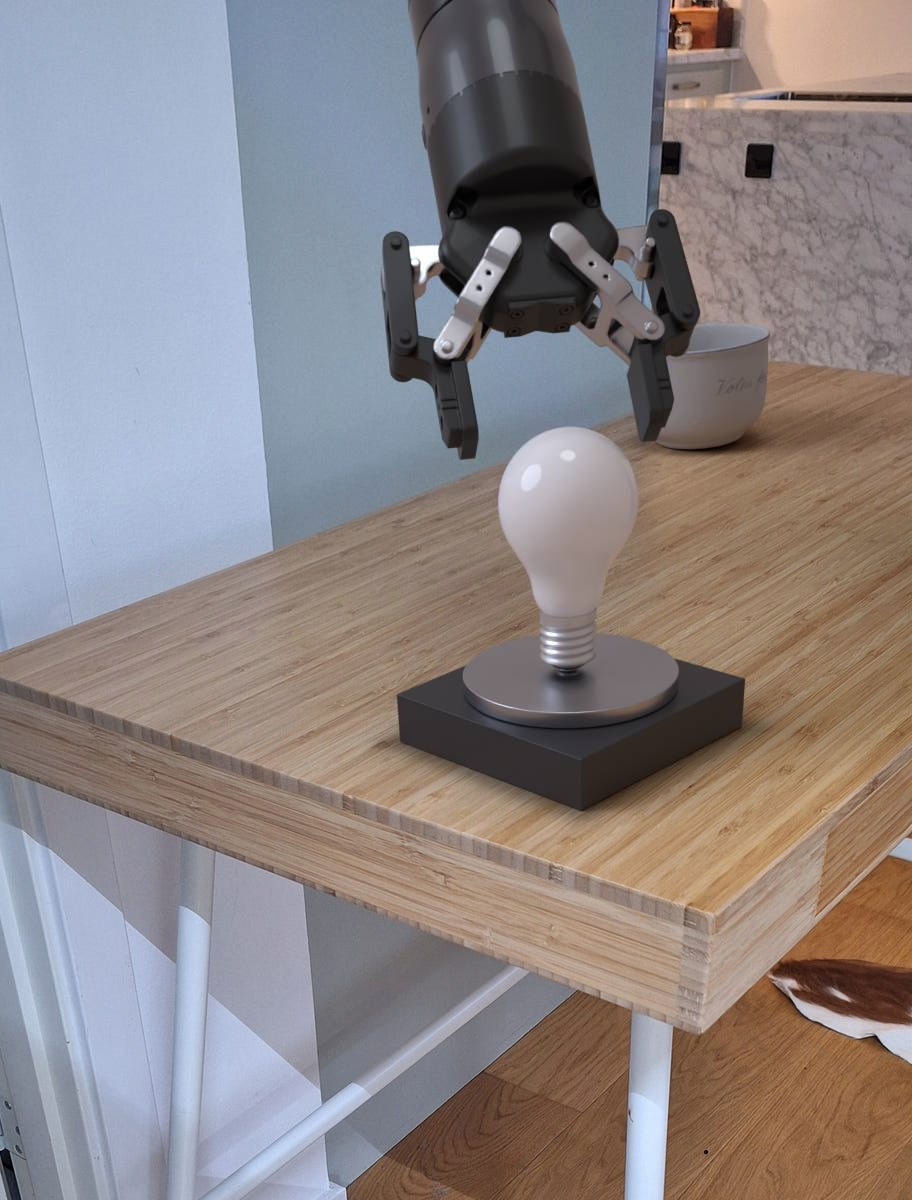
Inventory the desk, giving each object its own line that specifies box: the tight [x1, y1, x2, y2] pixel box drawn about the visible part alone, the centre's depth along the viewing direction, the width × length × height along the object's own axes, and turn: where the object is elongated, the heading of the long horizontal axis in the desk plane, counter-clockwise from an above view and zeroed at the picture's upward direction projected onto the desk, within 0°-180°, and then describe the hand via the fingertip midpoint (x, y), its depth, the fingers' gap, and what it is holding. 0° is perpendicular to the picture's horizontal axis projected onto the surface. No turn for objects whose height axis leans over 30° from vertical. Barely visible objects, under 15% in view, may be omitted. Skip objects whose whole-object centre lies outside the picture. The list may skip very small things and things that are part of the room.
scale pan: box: [463, 632, 679, 729], centre depth 71 cm, size 10×10×1 cm
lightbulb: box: [497, 426, 640, 671], centre depth 68 cm, size 6×6×11 cm
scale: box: [396, 633, 746, 811], centre depth 72 cm, size 12×12×2 cm
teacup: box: [655, 320, 771, 450], centre depth 117 cm, size 14×11×8 cm
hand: (562, 440), depth 67 cm, fingers open, 8 cm apart
